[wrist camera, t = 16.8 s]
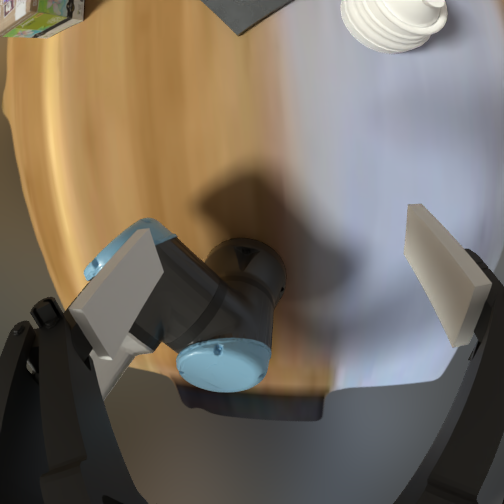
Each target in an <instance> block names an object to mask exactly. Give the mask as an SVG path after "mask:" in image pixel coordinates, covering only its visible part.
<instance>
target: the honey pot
mask: <svg viewBox="0 0 504 504" xmlns="http://www.w3.org/2000/svg"><path fill="white" fill-rule="evenodd" d="M340 8H341V16H342V19H343V21H344V24H345V26H346V27H347V29H348V30H349V32H350V33H351V35H352V36H354V37H355V38H356V39H357V40H358V41H359V42H360V43H362V44H363V45H365V46H366V47H368V48H369V49H372V50H375V51H377V52H380V53H386V54H397V53H402V52H406V51H409V50H412V49H415V48H418V47H420V46H422V45H423V44H424V43H425V42H426V41H427V40H429V38H430V36H431V34H434V33H437V32H438V31H440V30H441V29H442V28H443V27H444V25H445V23H446V21H447V14H448V12H447V6H446V2H445V0H342V2H341V6H340ZM438 17H439V18H438Z"/></svg>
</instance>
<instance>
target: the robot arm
mask: <svg viewBox="0 0 504 504" xmlns="http://www.w3.org/2000/svg"><path fill="white" fill-rule="evenodd" d="M404 255H405V257H406V259H407V260H408V262H409V264H410V265H411V267H412V269H413V271H414V272H415V274H416V276H417V278H418V280H419V281H420V283H421V285H422V287H423V289H424V290H425V292H426V294H427V296H428V298H429V300H430V302H431V304H432V306H433V308H434V310H435V312H436V314H437V316H438V318H439V320H440V322H441V324H442V326H443V328H444V330H445V332H446V334H447V337H448V339H449V341H450V343H451V345H452V348H454V347H458V346H463V345H467V344H469V342H470V340H471V338H472V336H473V333H475V335H476V337H477V339H478V341H477V343H476V345H475V347H474V349H473V351H472V353H471V355H470V357H469V359H468V360H470V362H469V366H468V368H467V370H466V373H465V376H464V378H463V381H462V383H461V386H460V388H459V391H458V393H457V396H456V398H455V400H454V402H453V404H452V407H451V409H450V411H449V413H448V415H447V417H446V419H445V421H444V423H443V425H442V427H441V429H440V431H439V433H438V435H437V437H436V439H435V441H434V442H433V444H432V446H431V448H430V449H429V451H428V453H427V454H426V456H425V458H424V459H423V461H422V463H421V464H420V466H419V468H418V469H417V471H416V472H415V474H414V476H413V477H412V478H411V480H410V481H409V483H408V484H407V486H406V487H405V489H404V490H403V491H402V493H401V494H400V495H399V497H398V498H397V499H396V501H395V502H394V503H393V504H478V502H477V500H476V499H477V495H478V493H479V490H480V488H481V486H482V484H483V482H484V480H485V478H486V476H487V473H488V471H489V469H490V466H491V464H492V462H493V459H494V457H495V454H496V451H497V449H498V446H499V443H500V441H501V438H502V435H503V432H504V286H503V285H502V284H501V282H500V281H499V280H498V279H497V278H496V276H495V275H494V274H493V272H492V271H491V270H490V269H488V266H487V265H486V264H485V263H484V262H483V260H482V259H481V258H480V257H479V256H478V255H477V254H476V253H474V252H473V251H471V250H470V249H464V248H463V247H462V246H461V245H460V244H459V243H458V242H457V241H456V239H455V238H454V237H453V236H452V235H451V234H450V233H449V232H448V231H447V230H446V229H445V227H444V226H443V225H442V224H441V223H440V222H439V221H438V220H437V219H436V218H435V217H434V216H433V215H432V214H431V213H430V212H429V211H428V210H427V209H426V208H425V207H424V206H423V205H422V204H408V210H407V225H406V236H405V246H404ZM84 275H85V277H86V280H87V281H90V282H89V283H88V284H87V285H86V286H85V288H84V289H83V290H82V292H80V294H79V295H78V297H76V298H75V300H74V301H73V302H72V303H71V305H70V306H69V307H68V308H67V310H66V311H65V312H64V313H63V312H62V310H61V309H60V307H59V305H58V303H57V302H56V300H55V298H53V297H47V298H45V299H42V300H41V301H39V302H38V303H37V304H36V305H34V307H33V308H32V310H31V312H30V313H31V315H32V317H33V318H34V320H35V321H36V323H37V325H38V326H39V328H37V329H33V327H32V326H31V324H30V322H29V321H22V322H19V323H17V324H16V325H15V326H14V328H13V329H12V330H11V332H10V334H9V336H8V338H7V341H6V343H5V346H4V349H3V351H2V354H1V356H0V504H148V502H147V501H146V500H145V499H144V498H143V497H142V496H141V495H140V493H139V492H138V491H137V489H136V487H135V485H134V483H133V481H132V479H131V476H130V474H129V472H128V469H127V467H126V464H125V462H124V460H123V457H122V455H121V452H120V449H119V447H118V444H117V441H116V438H115V436H114V433H113V430H112V427H111V424H110V421H109V418H108V415H107V411H106V408H105V405H104V400H105V398H106V397H107V395H108V394H109V392H110V391H111V390H112V388H113V387H114V385H115V384H116V382H117V381H118V380H119V378H120V377H121V376H122V374H123V373H124V371H125V370H126V368H127V367H128V366H129V364H130V363H131V362H132V360H133V359H134V358H135V356H137V355H139V354H148V353H153V352H154V351H155V350H156V348H157V347H158V346H159V344H160V343H161V342H163V343H165V344H166V345H167V346H169V347H170V348H171V349H173V350H174V351H175V352H177V353H178V356H177V358H176V362H177V369H178V370H179V373H180V375H181V376H182V377H183V378H184V379H185V380H186V381H188V382H189V383H191V384H193V385H195V386H197V387H199V388H202V389H206V390H210V391H215V392H238V391H243V390H246V389H249V388H251V387H253V386H255V385H257V384H258V383H260V382H261V381H262V380H263V378H264V377H265V375H266V373H267V369H268V364H269V360H270V358H271V345H272V329H273V313H274V308H275V307H276V305H277V303H278V302H279V300H280V299H281V297H282V295H283V293H284V290H285V286H286V269H285V266H284V263H283V261H282V259H281V258H280V256H279V255H278V254H277V253H276V252H275V251H274V250H273V249H272V248H270V247H269V246H267V245H266V244H264V243H262V242H259V241H256V240H252V239H246V238H237V239H231V240H227V241H225V242H222V243H220V244H219V245H217V246H216V247H215V248H214V249H213V250H212V251H211V252H210V253H209V255H208V256H207V258H206V261H205V263H204V262H203V261H202V260H201V259H199V258H198V257H197V256H196V255H195V254H194V253H193V252H192V251H191V250H190V249H189V248H187V247H186V246H185V245H184V244H183V243H182V242H181V241H180V240H179V239H178V238H177V235H176V234H173V233H171V232H170V231H169V230H168V229H167V228H165V227H164V226H163V225H162V224H161V223H159V222H158V221H157V220H155V219H153V218H143V219H141V220H139V221H137V222H135V223H134V224H133V225H131V226H130V227H128V228H127V229H126V230H125V231H123V232H122V233H121V234H120V235H118V236H117V237H116V238H115V239H114V240H113V241H111V242H110V243H109V244H108V245H107V246H106V247H105V248H104V249H103V250H102V251H101V252H100V253H99V254H98V255H97V257H95V258H94V260H93V261H92V262H91V263H89V265H88V266H87V267H86V268H85V270H84ZM27 363H28V364H29V365H30V366H31V367H32V369H33V372H32V374H31V373H30V372H29V371H28V370H27V368H26V364H27ZM502 504H504V500H503V503H502Z"/></svg>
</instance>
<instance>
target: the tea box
mask: <svg viewBox="0 0 504 504" xmlns="http://www.w3.org/2000/svg"><path fill="white" fill-rule="evenodd" d="M83 14H84V0H0V37H29V38H49V37H51V36H53V35H55V34H57V33H59V32H61V31H63V30H65V29H67V28H69V27H71V26H73V25H75V24H77V23H79V22H81V21H83Z"/></svg>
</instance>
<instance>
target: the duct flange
mask: <svg viewBox="0 0 504 504" xmlns="http://www.w3.org/2000/svg"><path fill="white" fill-rule="evenodd" d="M201 1H202V2H203V3H204V4H205V5H206V6H207V7H208V8H210V9H211V10H212V11H213V12H214V13H215V14H216V15H217V16H218V17H219V18H220V19H221V20H222V21H223V22H224V23H225V24H226V25H227V26H228V27H229V28H230V29H231V30H232V31H233V32H234V33H235V34H236V35H237V36H240V35H241V34H242V33H244V32H245V31H247V30H248V29H249V28H251V27H252V26H254V25H255V24H257V23H258V22H259V21H261V20H262V19H264V18H265V17H267V16H269V15H270V14H272V13H273V12H275V11H276V10H278V9H280V8H281V7H283V6H284V5H286V4H288V3H289V2H291V1H293V0H201Z"/></svg>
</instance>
